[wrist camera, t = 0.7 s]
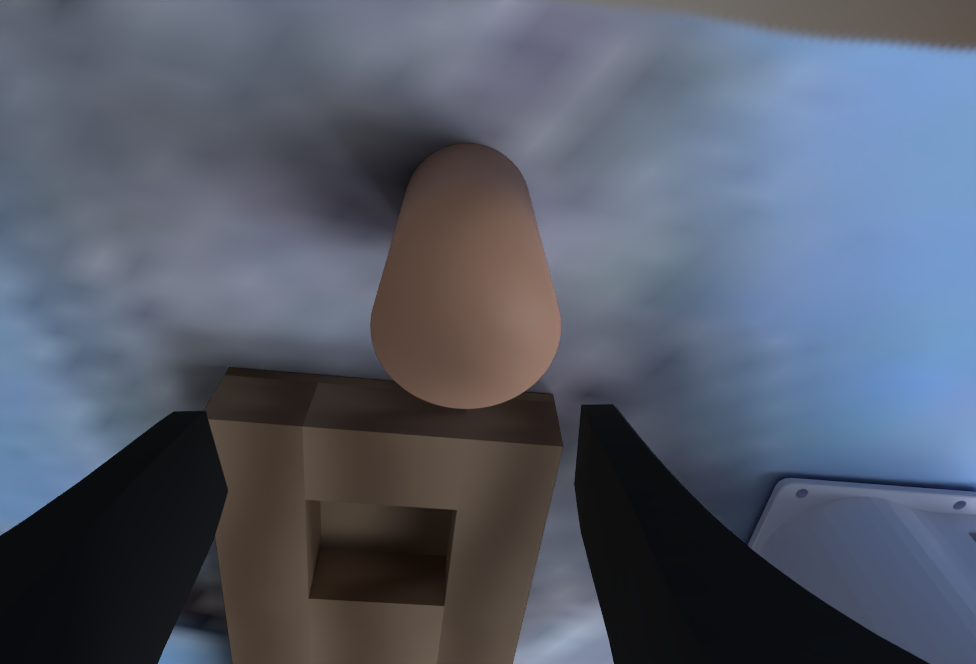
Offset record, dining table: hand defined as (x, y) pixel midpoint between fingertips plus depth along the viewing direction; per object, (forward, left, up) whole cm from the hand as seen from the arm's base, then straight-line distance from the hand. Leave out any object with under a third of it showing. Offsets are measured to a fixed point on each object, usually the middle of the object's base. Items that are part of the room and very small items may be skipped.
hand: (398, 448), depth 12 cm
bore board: (+1, +16, -10) cm, 19 cm away
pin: (-1, -2, -10) cm, 10 cm away
